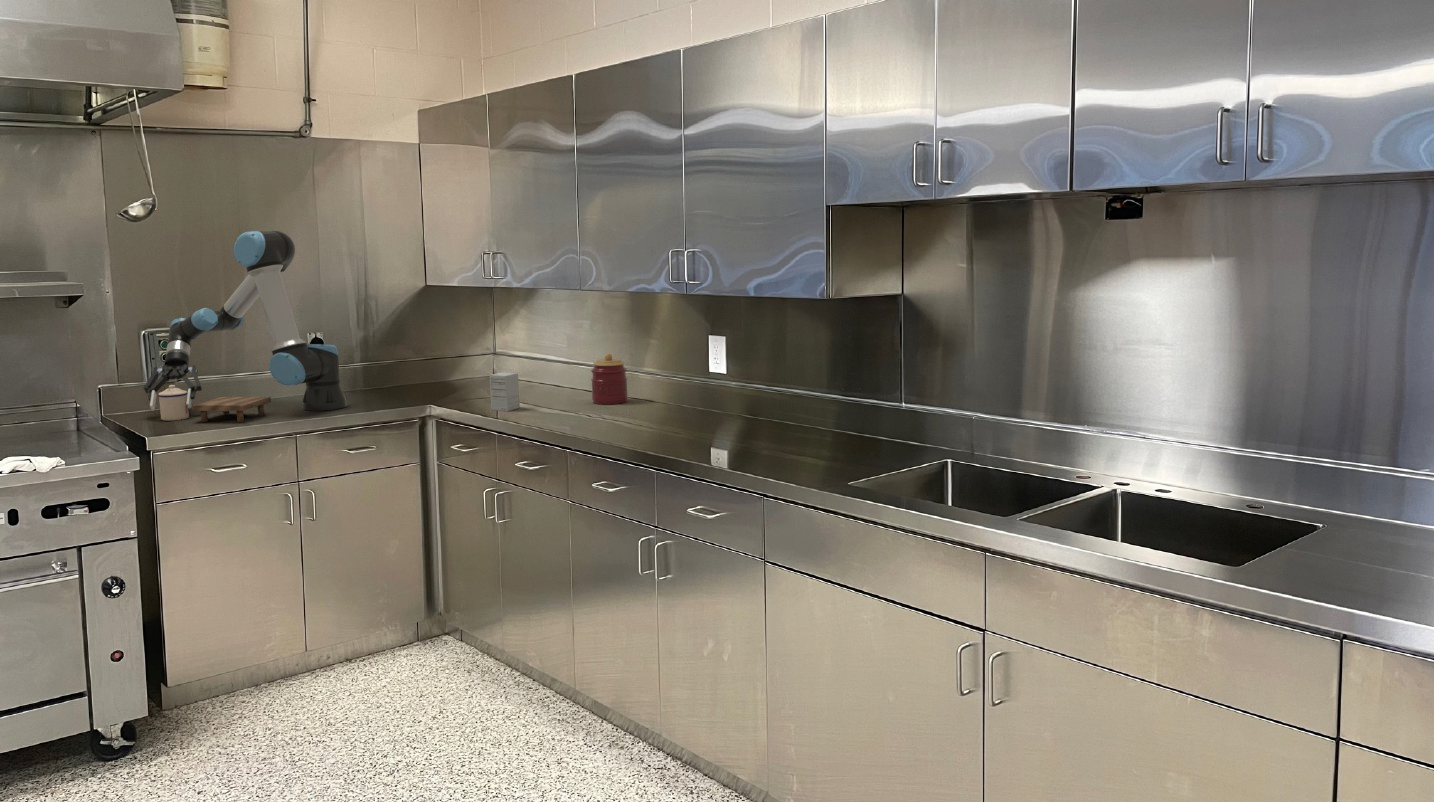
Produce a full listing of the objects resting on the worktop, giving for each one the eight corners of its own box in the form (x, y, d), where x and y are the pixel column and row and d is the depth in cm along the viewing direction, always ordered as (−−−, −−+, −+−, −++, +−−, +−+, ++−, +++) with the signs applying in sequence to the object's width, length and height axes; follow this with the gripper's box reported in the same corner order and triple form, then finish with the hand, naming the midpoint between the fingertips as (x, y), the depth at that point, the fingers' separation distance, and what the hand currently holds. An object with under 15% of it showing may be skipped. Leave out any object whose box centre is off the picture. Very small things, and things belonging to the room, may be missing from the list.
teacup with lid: (193, 418, 367) (190, 384, 365) (165, 422, 361) (162, 388, 359) (181, 414, 375) (178, 381, 373) (153, 417, 369) (150, 384, 367)
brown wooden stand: (272, 413, 373) (270, 396, 372) (243, 423, 355) (242, 405, 354) (223, 413, 375) (222, 396, 374) (193, 422, 358) (191, 405, 357)
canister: (630, 399, 392) (629, 351, 389) (624, 405, 379) (622, 355, 376) (596, 399, 393) (594, 351, 390) (588, 405, 380) (586, 355, 377)
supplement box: (503, 407, 379) (501, 371, 377) (520, 408, 376) (518, 372, 374) (490, 410, 373) (488, 374, 371) (507, 411, 369) (505, 375, 367)
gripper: (215, 361, 383) (209, 411, 370) (144, 364, 377) (136, 415, 365) (210, 348, 377) (204, 398, 364) (138, 351, 371) (130, 402, 359)
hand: (170, 407), depth 364 cm, fingers open, 11 cm apart
